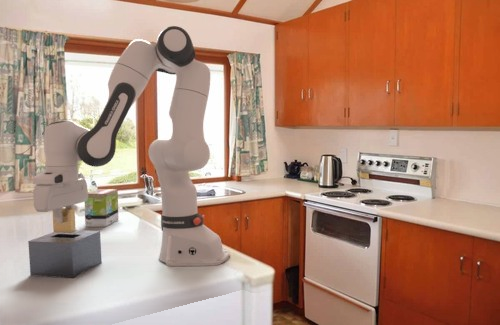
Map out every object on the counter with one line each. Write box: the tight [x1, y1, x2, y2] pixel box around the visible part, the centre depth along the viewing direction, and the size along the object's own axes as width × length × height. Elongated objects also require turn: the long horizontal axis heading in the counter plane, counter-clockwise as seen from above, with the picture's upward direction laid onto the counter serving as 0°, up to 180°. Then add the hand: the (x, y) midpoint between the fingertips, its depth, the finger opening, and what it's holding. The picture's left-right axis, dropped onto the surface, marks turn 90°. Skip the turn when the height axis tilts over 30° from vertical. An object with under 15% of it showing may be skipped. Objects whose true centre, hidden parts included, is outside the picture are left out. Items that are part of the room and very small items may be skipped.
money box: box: [27, 229, 102, 279], centre depth 125 cm, size 14×14×10 cm
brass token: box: [52, 207, 77, 233], centre depth 124 cm, size 6×2×7 cm, turn 77°
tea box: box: [84, 188, 119, 228], centre depth 187 cm, size 15×10×15 cm
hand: (64, 221), depth 124 cm, fingers closed on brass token, 2 cm apart
